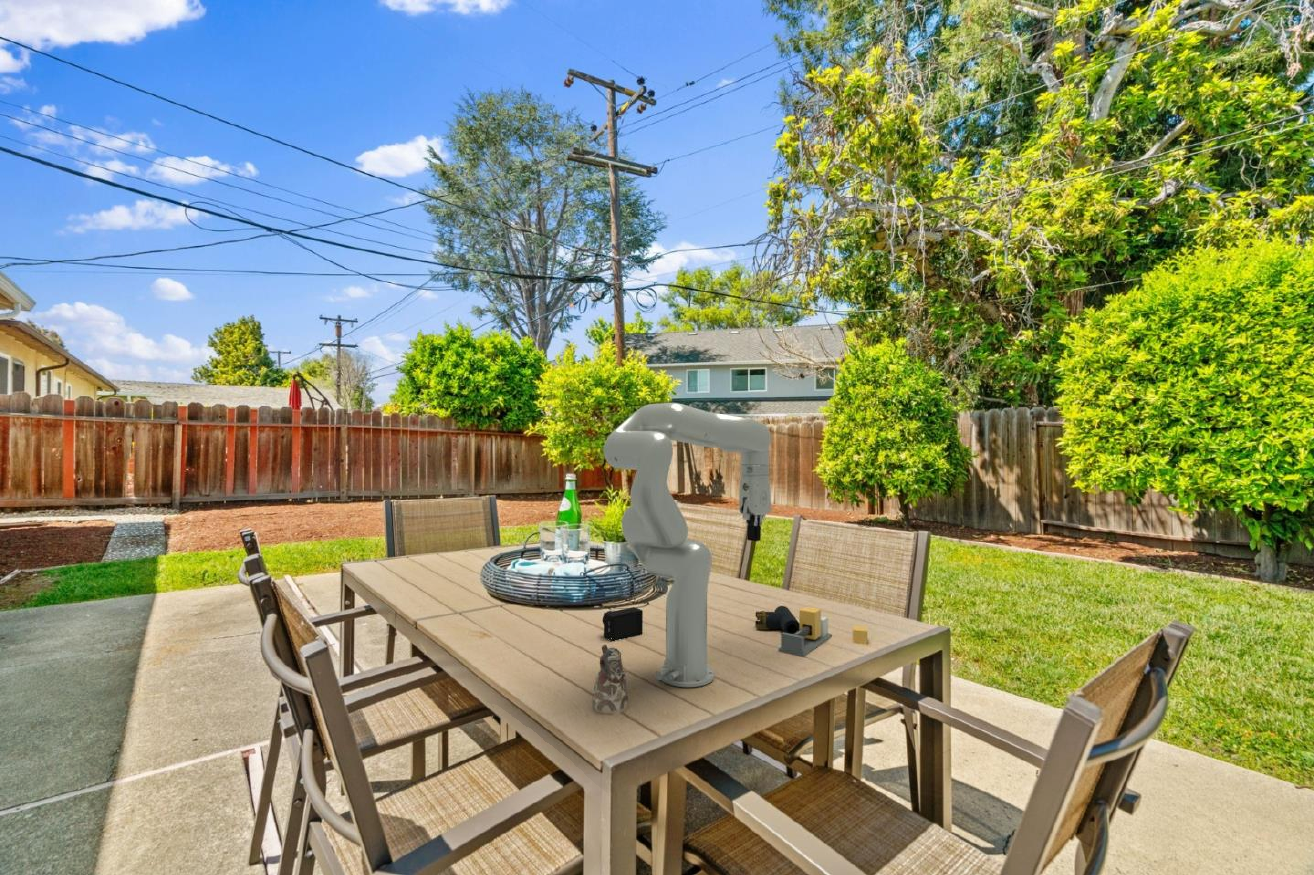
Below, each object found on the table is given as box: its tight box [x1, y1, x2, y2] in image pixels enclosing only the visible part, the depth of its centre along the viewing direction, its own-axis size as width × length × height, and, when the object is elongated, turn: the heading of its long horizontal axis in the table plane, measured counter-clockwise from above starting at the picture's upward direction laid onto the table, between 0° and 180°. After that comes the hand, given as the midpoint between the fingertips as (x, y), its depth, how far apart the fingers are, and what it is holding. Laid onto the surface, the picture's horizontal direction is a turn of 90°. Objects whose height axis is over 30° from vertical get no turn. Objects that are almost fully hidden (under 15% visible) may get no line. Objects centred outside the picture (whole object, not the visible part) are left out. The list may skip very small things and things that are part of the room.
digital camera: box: [602, 606, 644, 642], centre depth 164 cm, size 10×5×7 cm, turn 127°
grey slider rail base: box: [778, 615, 833, 658], centre depth 158 cm, size 20×7×5 cm, turn 143°
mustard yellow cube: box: [852, 625, 868, 644], centre depth 160 cm, size 4×4×4 cm
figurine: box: [592, 644, 630, 715], centre depth 119 cm, size 7×7×12 cm
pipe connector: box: [754, 605, 800, 634], centre depth 171 cm, size 12×5×15 cm
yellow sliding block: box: [798, 606, 822, 640], centre depth 160 cm, size 4×4×7 cm
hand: (753, 540), depth 156 cm, fingers closed
